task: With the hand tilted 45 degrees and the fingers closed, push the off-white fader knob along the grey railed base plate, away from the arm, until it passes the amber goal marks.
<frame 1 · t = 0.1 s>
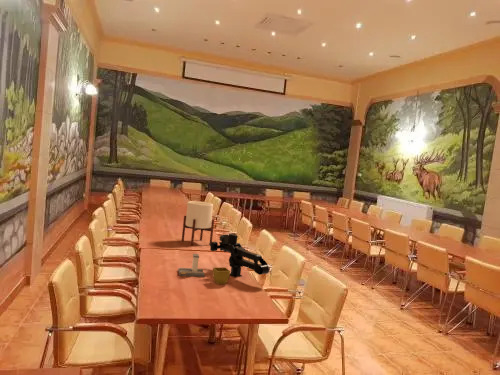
hand: (214, 243, 303), 17 cm above the table, tool horizontal, fingers open, 9 cm apart
grey railed base plate: (191, 273, 279), on the table
plant pot with stand: (196, 243, 376), on the table
flower pot: (219, 283, 265), on the table
fader knob: (195, 263, 279), point 7 cm above the table, slide at -2.0 cm
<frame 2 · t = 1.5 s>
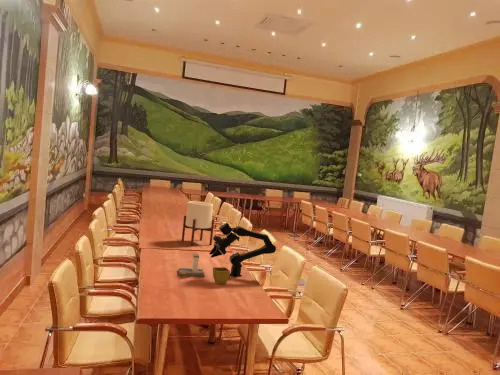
hand: (210, 255, 281), 13 cm above the table, tool tilted 45°, fingers open, 8 cm apart
nothing on the table moved.
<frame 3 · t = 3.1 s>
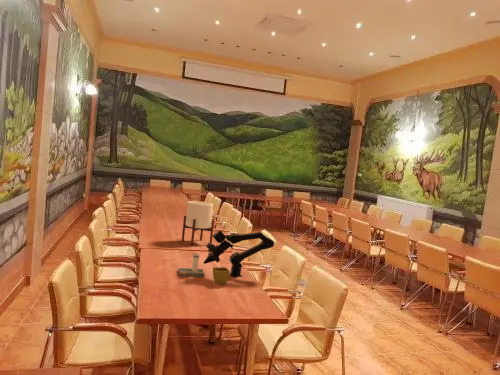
hand: (203, 263, 280), 7 cm above the table, tool tilted 45°, fingers closed
nothing on the table moved.
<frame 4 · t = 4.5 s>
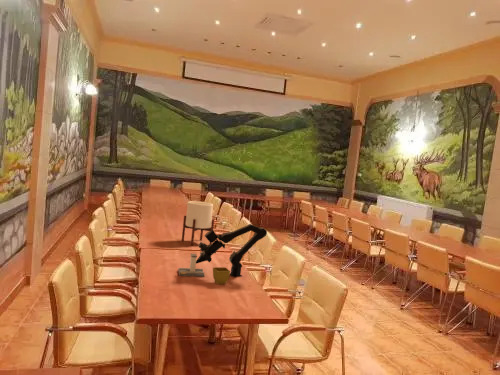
hand: (195, 262, 279), 7 cm above the table, tool tilted 45°, fingers closed, pressing on fader knob
fader knob: (193, 263, 278), point 7 cm above the table, slide at -0.6 cm, touching gripper
everything else where it was.
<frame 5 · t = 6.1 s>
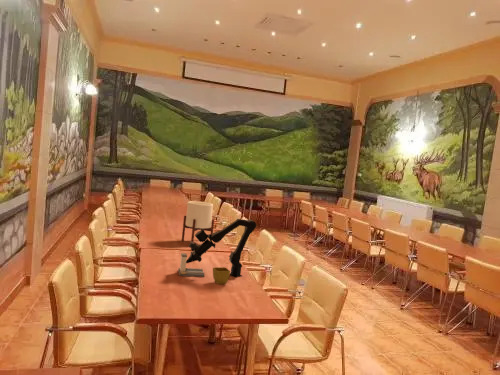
hand: (186, 262, 277), 7 cm above the table, tool tilted 45°, fingers closed, pressing on fader knob
fader knob: (183, 262, 277), point 7 cm above the table, slide at 5.8 cm, touching gripper
everything else where it was.
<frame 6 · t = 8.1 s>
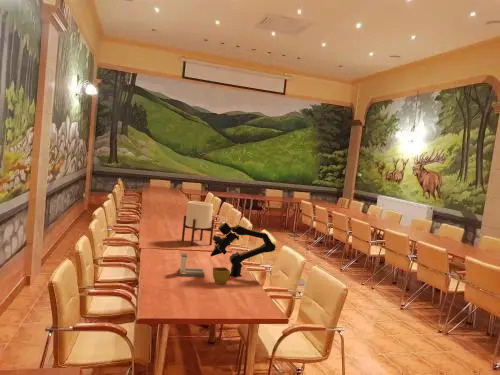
hand: (210, 255, 280), 13 cm above the table, tool tilted 45°, fingers closed
fader knob: (183, 262, 277), point 7 cm above the table, slide at 5.8 cm
everything else where it was.
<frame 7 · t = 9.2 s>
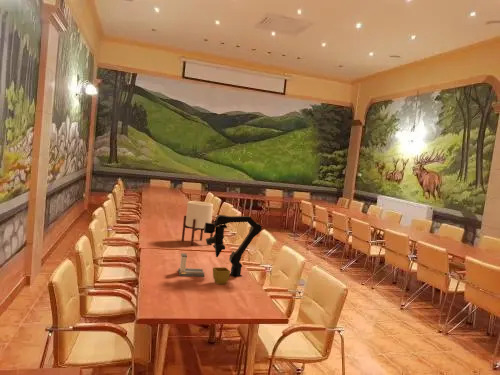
hand: (216, 257, 282), 12 cm above the table, tool pointing down, fingers closed
nothing on the table moved.
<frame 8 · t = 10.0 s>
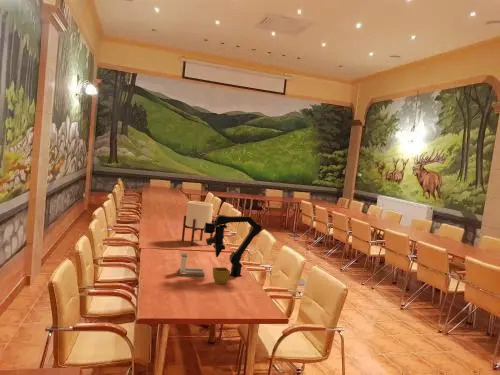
hand: (216, 257, 282), 12 cm above the table, tool pointing down, fingers closed
nothing on the table moved.
at the end: fader knob slide at 5.8 cm; flower pot moved 0.2 cm from its start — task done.
